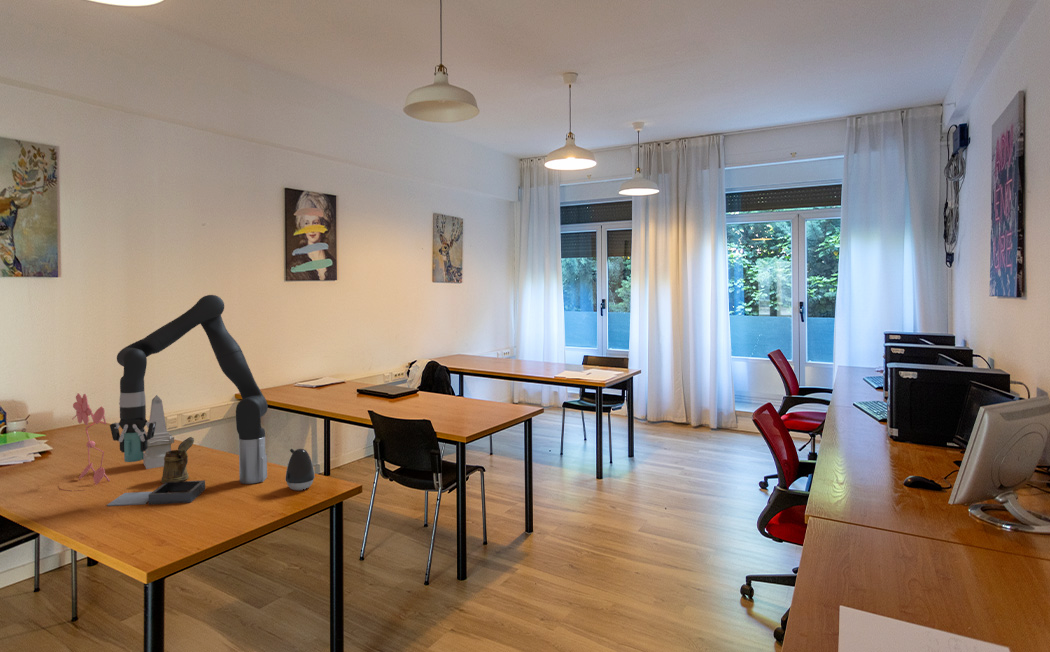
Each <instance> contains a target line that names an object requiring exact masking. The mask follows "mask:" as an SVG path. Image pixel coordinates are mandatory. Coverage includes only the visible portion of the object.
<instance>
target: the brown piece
mask: <svg viewBox="0 0 1050 652" xmlns="http://www.w3.org/2000/svg"><path fill="white" fill-rule="evenodd" d="M194 443H195V439H194V437H192V436H189V437H188V438H186V439H184V440H183V441H181V443H179V445H178V447H177V449H173V450H172V449H171V451H167V452H166V454H165V457H164V460H165V461H164V466H163V469H162V475H161V480H160V483H162V484H164V483H165V482H179V481H188V479H189V477H190V476H189V473H188V469H187V465H188V463H189V462H188V461H189V455H188V453H187V451H188V450H190V448H192V446H193V444H194Z"/></svg>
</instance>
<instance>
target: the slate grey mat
mask: <svg viewBox="0 0 1050 652" xmlns="http://www.w3.org/2000/svg"><path fill="white" fill-rule="evenodd" d="M152 492H153V491H139V492H135V491H134V492H124V493H123V494H120V495H119V496H117V497H116V498H115V499H113V500H111V502H109V503H107V504H106V507H115V506H116V507H118V506H134V505H135V506H137V505H146V504H149V497H148V495H149V494H150V493H152Z"/></svg>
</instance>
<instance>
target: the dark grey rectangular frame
mask: <svg viewBox="0 0 1050 652" xmlns="http://www.w3.org/2000/svg"><path fill="white" fill-rule="evenodd" d="M205 490H206V480H205V479H204V480H203V479H202V480H185V481H179V482H165V483H162V484H161V485H160V486H158V487H157V488H156V489H153V491H151V492H152V493H150V494H149V495H148V497H149V502H148V505H153V506H154V505H167V504H171V505H172V504H187V503H189V504H190V503H192V502H194V501H195V499H197V498H198V497H199V496H200V495H201V494H202V493H203V492H204V491H205Z"/></svg>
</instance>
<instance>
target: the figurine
mask: <svg viewBox="0 0 1050 652" xmlns="http://www.w3.org/2000/svg"><path fill="white" fill-rule="evenodd" d="M75 400H76V401H75V402H74V403H73V404H72V408H73V409H74V411H75V415H74V416H73V417H72V420H74V419H75V418H77V422H78V424H79V425H80V424H82V422H83V423H84V425H85V426H86V427H85V429H84V430H85V433H86V437H87V440H88V441H87V442H86V447H87V452H88V453H87V456H88V458H87V459H88V465H87V466H86V467H85V468H84V469H83V470H82V472H81V473H80V475H79V477H78V480H81V479H82V478H83V477H85V476H86V474H87V473H88V472H89V471H90V469H91V470H92V473H93V482H94V485H98V484H99V483H100V482H101V481H102V480H103V478H105V479H106V480H107V482H110V479H109V477H108V476H107V474H106V473H105V472H106V471H105V468H104V467H103V466H102V465H103V459H104V453H105V451H103V450H101V449H100V448H98V447H95V446H96V442H95V441H94V440H90V436H89V431H88V428H90V427H92V426H93V425H95V424H96V425H98V424H99V423H101V424H103V425H106V424H107V422H106V421H107V420H106V417H105V408H103V407H104V406H102V405H101V406H99V408H98V409H96V410H95V412H94V413H93V410H92V408H90V404H89V403H88V402H89V401H88V396H87V395H86V393H83V395H82V394H80V393H76V395H75ZM89 416H91V419H92V421H93V423H91V424H89V422H90V419H89ZM101 420H102V421H101ZM92 448H93V449H95V450H98V451H99V452H101V453H102V456H101V461H100V465H99V466H100V467H98V468H97V469H96V470H95V469H94V468H93V462H91V461H90V449H92ZM89 474H91V472H89ZM61 490H62V491H64V489H62V488H59V491H61ZM66 490H67V489H66ZM67 491H68V492H71V490H69V489H68V490H67ZM67 491H66V492H67ZM79 491H84V489H82V490H80V489H79V490H75V492H79Z"/></svg>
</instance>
